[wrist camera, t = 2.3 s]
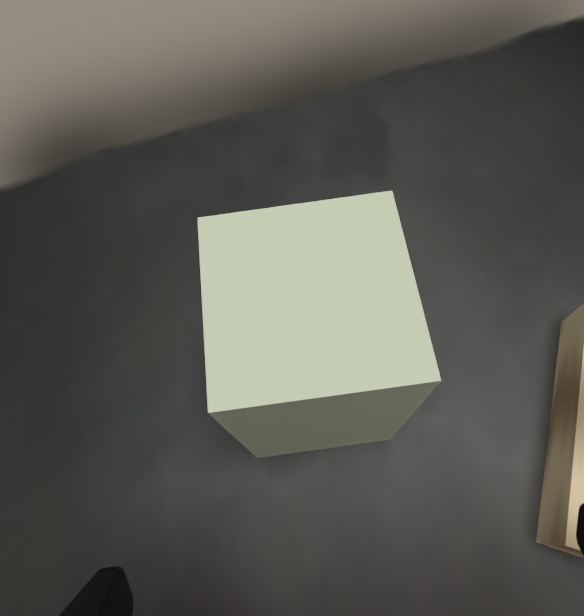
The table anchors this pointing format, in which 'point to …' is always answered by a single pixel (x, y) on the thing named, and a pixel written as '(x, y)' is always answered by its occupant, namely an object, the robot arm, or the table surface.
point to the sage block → (312, 325)
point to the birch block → (565, 443)
